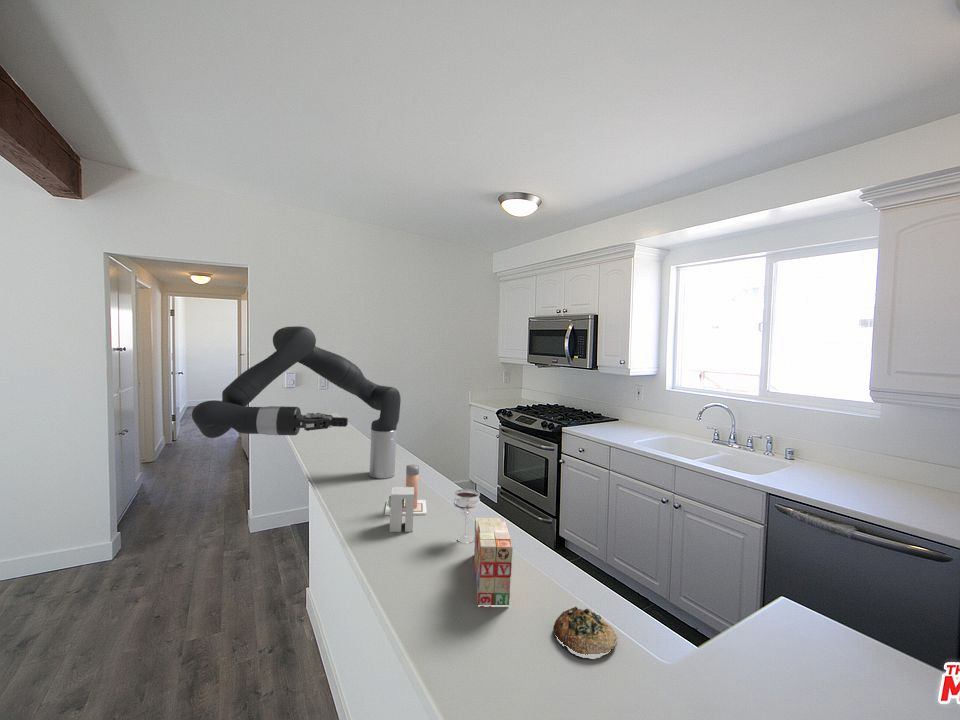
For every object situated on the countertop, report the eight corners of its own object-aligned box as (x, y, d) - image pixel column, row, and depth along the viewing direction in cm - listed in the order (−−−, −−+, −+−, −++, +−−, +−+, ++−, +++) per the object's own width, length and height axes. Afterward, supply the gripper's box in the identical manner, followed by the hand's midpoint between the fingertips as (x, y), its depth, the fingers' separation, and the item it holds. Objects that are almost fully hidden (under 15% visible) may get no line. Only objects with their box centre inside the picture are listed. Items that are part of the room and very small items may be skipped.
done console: (390, 522, 123) (392, 487, 122) (412, 522, 124) (414, 487, 123) (389, 532, 117) (391, 494, 116) (412, 531, 118) (414, 494, 117)
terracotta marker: (404, 504, 135) (406, 464, 134) (417, 504, 135) (419, 464, 135) (404, 509, 131) (406, 468, 131) (417, 509, 132) (419, 468, 131)
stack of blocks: (473, 555, 106) (475, 504, 106) (499, 555, 107) (501, 505, 106) (477, 608, 85) (480, 545, 85) (509, 608, 85) (512, 546, 85)
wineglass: (475, 546, 111) (477, 499, 110) (448, 542, 112) (451, 496, 112) (480, 535, 117) (482, 490, 117) (455, 532, 119) (457, 487, 118)
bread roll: (549, 616, 83) (554, 591, 83) (607, 628, 83) (613, 603, 83) (555, 660, 72) (561, 631, 72) (623, 675, 72) (629, 646, 72)
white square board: (387, 501, 139) (387, 499, 139) (425, 501, 140) (425, 499, 140) (384, 515, 128) (384, 513, 128) (426, 514, 130) (426, 512, 130)
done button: (389, 505, 121) (389, 494, 121) (403, 505, 121) (404, 494, 121) (388, 509, 118) (388, 498, 118) (403, 509, 119) (404, 498, 118)
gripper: (271, 410, 110) (344, 412, 112) (286, 403, 123) (351, 404, 125) (270, 440, 110) (342, 441, 112) (286, 429, 123) (350, 431, 126)
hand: (347, 422), depth 119 cm, fingers closed
